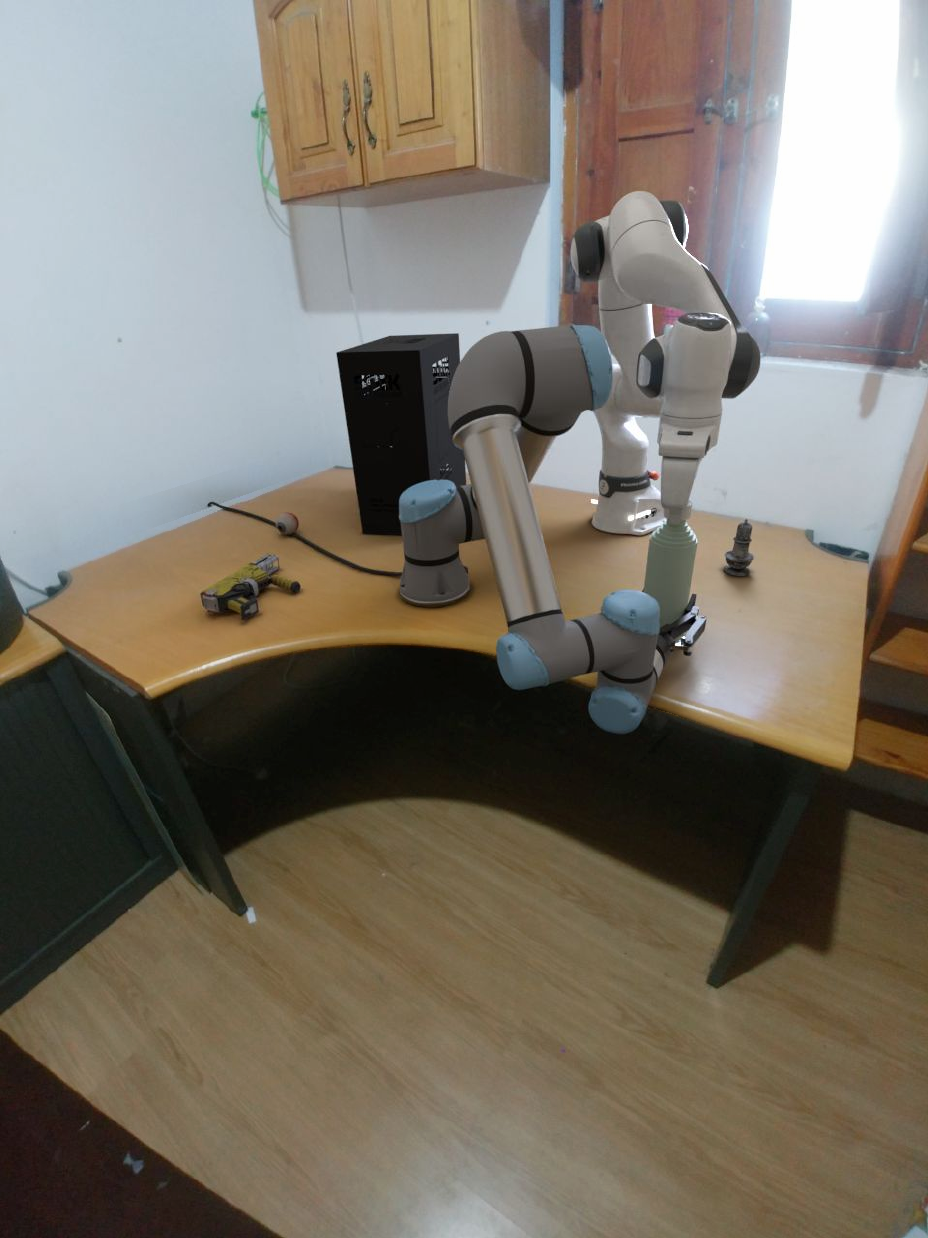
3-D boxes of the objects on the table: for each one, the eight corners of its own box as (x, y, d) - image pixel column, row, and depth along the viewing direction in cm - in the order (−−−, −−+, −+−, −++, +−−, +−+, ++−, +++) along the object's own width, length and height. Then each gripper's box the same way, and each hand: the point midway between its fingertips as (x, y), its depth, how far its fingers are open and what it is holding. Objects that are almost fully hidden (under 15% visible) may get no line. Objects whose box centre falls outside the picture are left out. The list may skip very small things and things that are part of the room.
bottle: (682, 628, 113) (702, 500, 101) (681, 650, 107) (703, 516, 94) (640, 623, 115) (654, 497, 103) (637, 644, 109) (652, 512, 96)
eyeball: (273, 537, 164) (268, 516, 161) (287, 528, 169) (282, 508, 166) (291, 539, 161) (286, 518, 158) (305, 530, 166) (301, 510, 163)
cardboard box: (434, 536, 158) (419, 349, 136) (362, 533, 163) (336, 352, 140) (466, 490, 190) (458, 333, 167) (405, 489, 194) (389, 335, 172)
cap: (687, 522, 97) (689, 508, 96) (660, 518, 99) (662, 505, 98) (692, 513, 100) (694, 499, 99) (666, 510, 102) (668, 497, 101)
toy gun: (320, 562, 140) (265, 550, 144) (256, 606, 120) (194, 592, 124) (321, 580, 142) (267, 568, 146) (259, 627, 122) (198, 612, 126)
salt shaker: (753, 577, 129) (764, 524, 123) (724, 576, 130) (734, 523, 124) (748, 565, 134) (758, 514, 128) (720, 564, 135) (729, 513, 129)
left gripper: (575, 664, 101) (613, 603, 118) (705, 695, 92) (725, 624, 109) (577, 626, 97) (616, 569, 114) (712, 653, 88) (732, 587, 105)
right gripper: (674, 416, 102) (665, 495, 109) (657, 447, 86) (647, 537, 93) (714, 418, 99) (702, 498, 106) (704, 449, 83) (690, 542, 90)
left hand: (669, 596), depth 112 cm, fingers closed on bottle, 8 cm apart
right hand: (676, 517), depth 99 cm, fingers closed on cap, 4 cm apart
